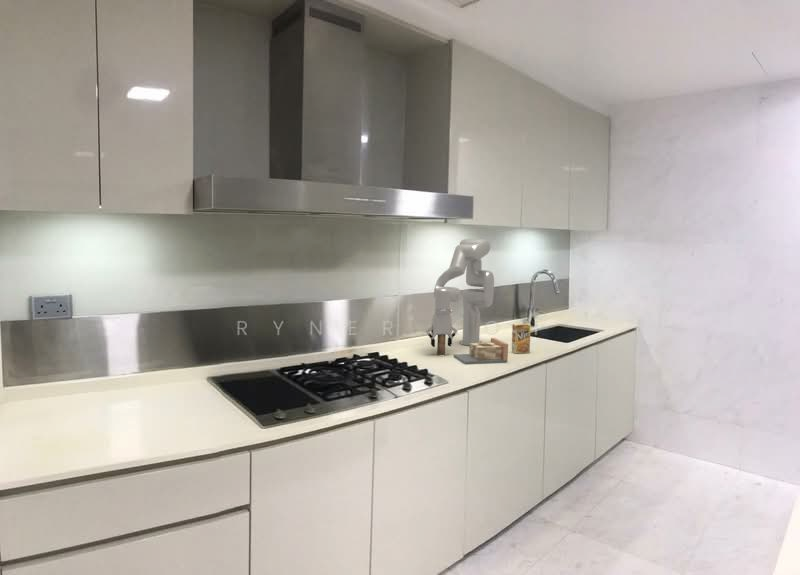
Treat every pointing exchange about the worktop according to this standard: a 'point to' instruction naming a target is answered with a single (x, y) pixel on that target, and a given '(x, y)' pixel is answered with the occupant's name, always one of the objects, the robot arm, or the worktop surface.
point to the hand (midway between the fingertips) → (441, 346)
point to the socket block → (485, 351)
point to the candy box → (521, 338)
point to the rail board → (471, 360)
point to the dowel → (441, 344)
